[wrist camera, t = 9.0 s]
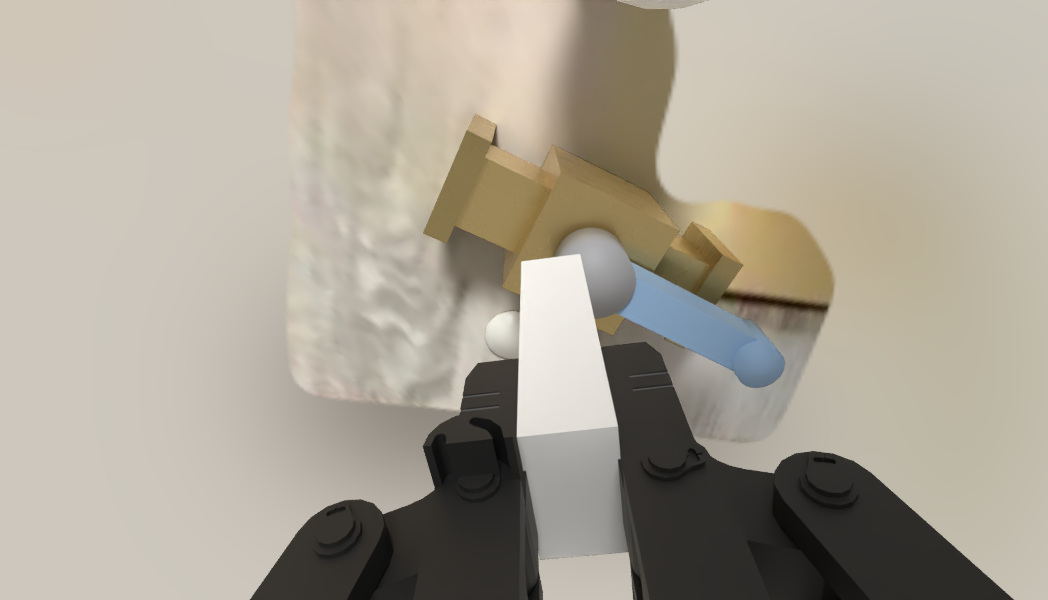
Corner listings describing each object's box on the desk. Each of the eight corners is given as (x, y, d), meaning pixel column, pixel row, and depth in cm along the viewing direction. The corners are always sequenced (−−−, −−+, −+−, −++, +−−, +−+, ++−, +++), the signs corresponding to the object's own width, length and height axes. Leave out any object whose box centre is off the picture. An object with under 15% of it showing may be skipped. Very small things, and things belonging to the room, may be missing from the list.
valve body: (435, 208, 41) (415, 250, 34) (478, 107, 38) (467, 127, 30) (658, 309, 45) (687, 367, 37) (713, 224, 42) (758, 269, 34)
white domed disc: (499, 302, 45) (498, 304, 45) (547, 323, 46) (547, 325, 46) (477, 345, 47) (476, 346, 46) (524, 364, 48) (524, 366, 47)
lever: (540, 276, 34) (542, 301, 31) (576, 214, 32) (583, 235, 29) (735, 371, 37) (755, 403, 34) (777, 320, 35) (803, 349, 32)
